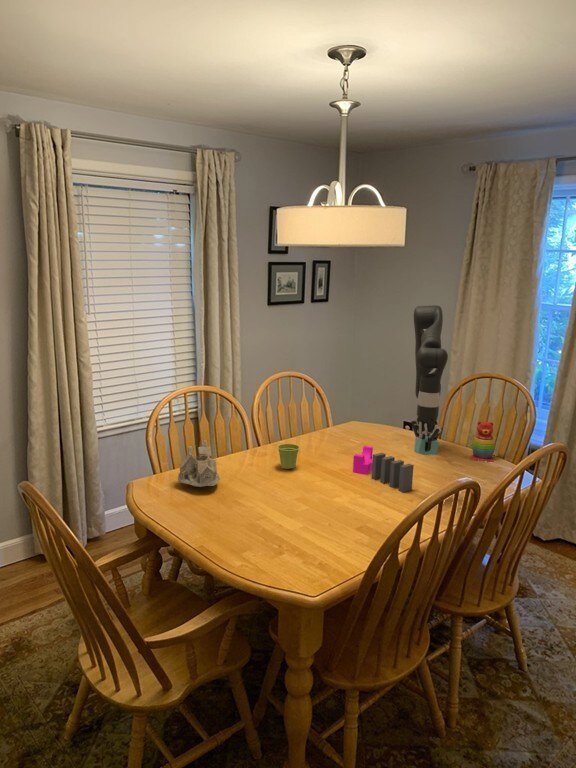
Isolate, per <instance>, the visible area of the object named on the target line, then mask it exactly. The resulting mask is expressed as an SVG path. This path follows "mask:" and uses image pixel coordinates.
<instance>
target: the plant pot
mask: <svg viewBox="0 0 576 768" xmlns="http://www.w3.org/2000/svg"><path fill="white" fill-rule="evenodd" d="M276 448H277V449H278V453H279V463H280V467H281V468H282V469H286V470H289V469H295V468H296V465H297V464H296V463H297V458H298V453H299V450H300V445H299V444H295V443H281V444H278V445H277V447H276Z"/></svg>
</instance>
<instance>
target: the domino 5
mask: <svg viewBox="0 0 576 768" xmlns="http://www.w3.org/2000/svg"><path fill="white" fill-rule="evenodd" d="M425 442H426V441H425V439H417V442H416V446H415V445H414V449H415V451H414V450H413V451H414V452H413V453H416V454H418V455H426V454H429V456H430V455H433V456H437V454H438V451H439V445H440V441H438V440H437V441H432V442H431V450H430V451H428V452H425Z"/></svg>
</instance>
